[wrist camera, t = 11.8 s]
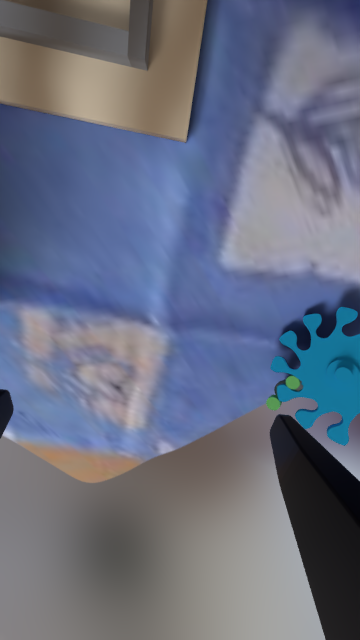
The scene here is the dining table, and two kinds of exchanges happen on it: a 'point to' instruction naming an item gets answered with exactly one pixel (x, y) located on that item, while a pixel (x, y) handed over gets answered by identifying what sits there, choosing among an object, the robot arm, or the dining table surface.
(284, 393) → the gear
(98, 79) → the dock
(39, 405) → the dining table surface
